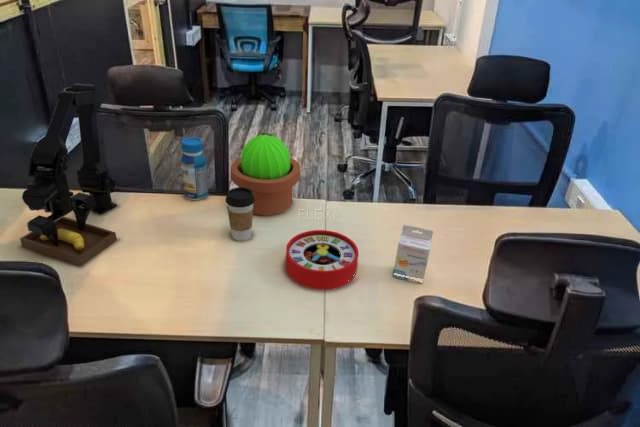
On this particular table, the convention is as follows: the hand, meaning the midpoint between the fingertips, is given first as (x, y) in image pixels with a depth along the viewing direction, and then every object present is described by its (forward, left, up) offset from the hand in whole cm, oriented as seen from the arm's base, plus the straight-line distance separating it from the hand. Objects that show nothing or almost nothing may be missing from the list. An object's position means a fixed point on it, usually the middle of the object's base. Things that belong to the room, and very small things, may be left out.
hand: (69, 238), depth 145 cm
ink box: (-87, -44, -2) cm, 97 cm away
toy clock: (-65, -33, -2) cm, 73 cm away
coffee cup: (-37, -32, -2) cm, 49 cm away
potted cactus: (-31, -52, -2) cm, 61 cm away
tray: (0, 0, -2) cm, 2 cm away
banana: (0, +1, -1) cm, 2 cm away
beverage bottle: (-9, -42, -2) cm, 43 cm away
